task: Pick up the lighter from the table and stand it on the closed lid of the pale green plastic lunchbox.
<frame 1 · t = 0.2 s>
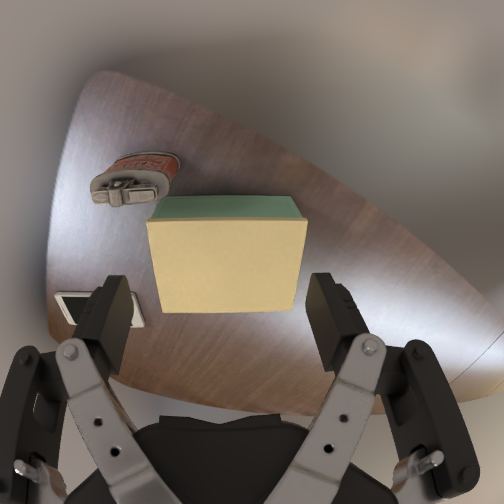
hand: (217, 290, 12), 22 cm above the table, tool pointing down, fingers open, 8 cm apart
smartphone: (98, 307, 41), on the table
lunchbox: (225, 237, 36), on the table
lighter: (147, 164, 30), on the table
lunchbox lid: (227, 270, 30), point 7 cm above the table, hinge at 0.0°
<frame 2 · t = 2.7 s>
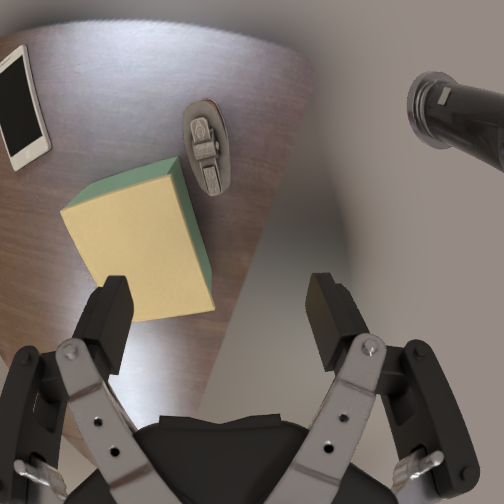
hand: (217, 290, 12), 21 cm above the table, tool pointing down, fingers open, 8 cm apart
smartphone: (18, 107, 21), on the table
lunchbox: (151, 228, 33), on the table
lighter: (211, 134, 27), on the table
lunchbox lid: (138, 262, 27), point 7 cm above the table, hinge at 0.0°
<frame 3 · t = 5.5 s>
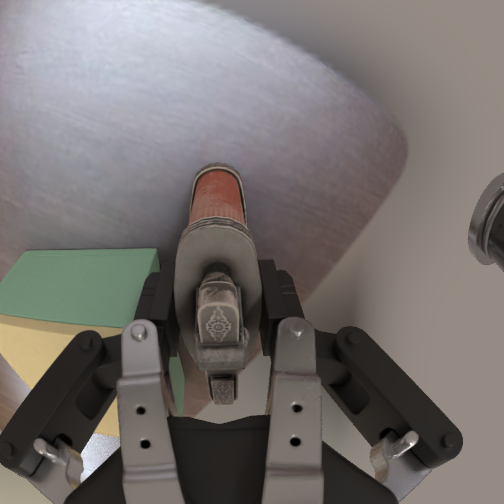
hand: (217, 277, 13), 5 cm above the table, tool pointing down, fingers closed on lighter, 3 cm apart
lunchbox: (109, 325, 21), on the table
lighter: (218, 225, 17), on the table, touching gripper
lunchbox lid: (90, 398, 15), point 7 cm above the table, hinge at 0.0°
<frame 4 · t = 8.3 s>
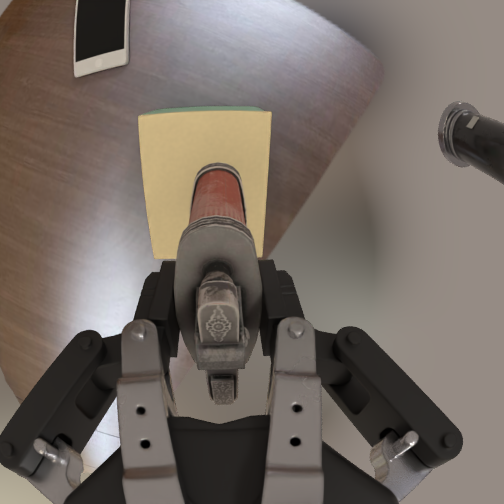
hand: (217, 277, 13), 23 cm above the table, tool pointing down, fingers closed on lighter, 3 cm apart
smartphone: (103, 16, 20), on the table
lunchbox: (206, 169, 33), on the table
lighter: (218, 224, 17), point 18 cm above the table, touching gripper
lunchbox lid: (204, 190, 27), point 7 cm above the table, hinge at 0.0°
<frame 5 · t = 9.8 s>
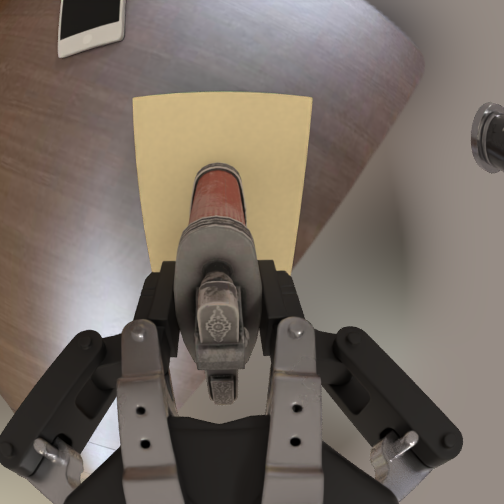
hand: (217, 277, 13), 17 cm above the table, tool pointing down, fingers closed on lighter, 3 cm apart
lighter: (218, 225, 17), point 11 cm above the table, touching gripper
lunchbox lid: (220, 197, 20), point 7 cm above the table, hinge at 0.0°
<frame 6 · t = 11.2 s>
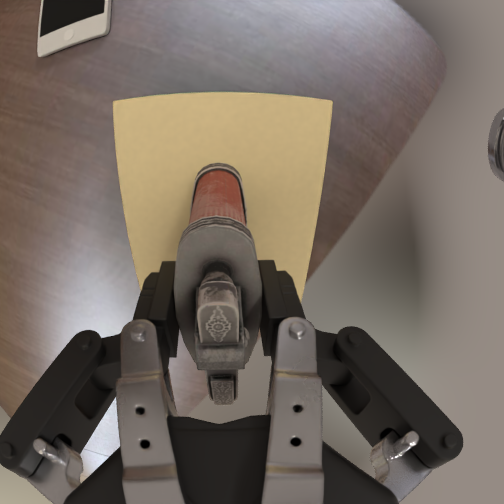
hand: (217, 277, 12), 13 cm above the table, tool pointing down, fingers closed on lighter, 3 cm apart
lighter: (218, 225, 17), point 7 cm above the table, touching gripper, lunchbox lid
lunchbox lid: (220, 220, 17), point 7 cm above the table, hinge at -0.2°, touching lighter, lunchbox
when the fingers open (13 cm above the table, at t = 11.2 s): lighter stays where it is, resting on lunchbox lid.
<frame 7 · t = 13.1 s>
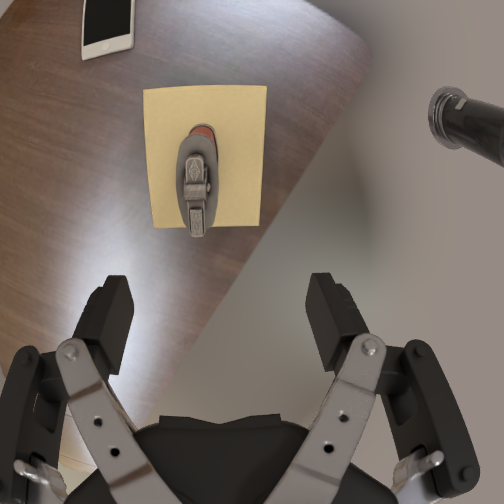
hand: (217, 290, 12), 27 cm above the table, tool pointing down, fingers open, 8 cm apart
smartphone: (110, 5, 20), on the table
lighter: (202, 161, 27), point 7 cm above the table, touching lunchbox lid
lunchbox lid: (204, 159, 27), point 7 cm above the table, hinge at -0.2°, touching lighter, lunchbox
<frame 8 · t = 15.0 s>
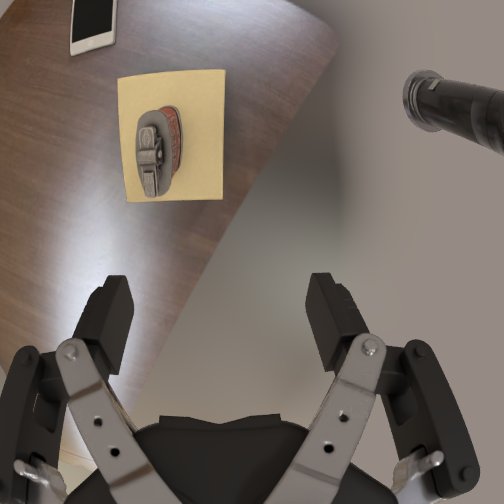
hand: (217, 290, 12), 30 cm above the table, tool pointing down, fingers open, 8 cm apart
smartphone: (95, 6, 22), on the table
lighter: (168, 139, 29), point 7 cm above the table, touching lunchbox lid
lunchbox lid: (170, 137, 29), point 7 cm above the table, hinge at -0.2°, touching lighter, lunchbox
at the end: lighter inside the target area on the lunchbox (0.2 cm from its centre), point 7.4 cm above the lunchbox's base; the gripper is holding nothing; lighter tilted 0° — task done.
